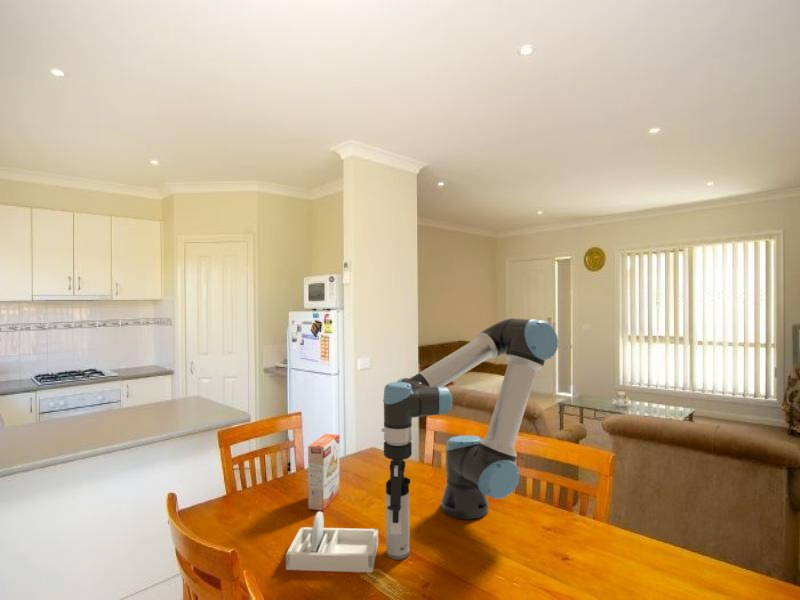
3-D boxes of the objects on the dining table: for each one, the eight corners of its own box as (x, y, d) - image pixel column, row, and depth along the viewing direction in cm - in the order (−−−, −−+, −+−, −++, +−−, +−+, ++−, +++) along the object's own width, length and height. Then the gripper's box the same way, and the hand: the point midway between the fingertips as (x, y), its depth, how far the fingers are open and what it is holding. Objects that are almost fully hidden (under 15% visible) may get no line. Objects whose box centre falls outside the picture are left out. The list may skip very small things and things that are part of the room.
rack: (378, 543, 122) (377, 503, 122) (372, 572, 109) (372, 527, 109) (301, 541, 123) (300, 501, 123) (286, 569, 110) (285, 525, 110)
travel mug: (408, 561, 113) (407, 484, 113) (383, 558, 114) (383, 483, 114) (412, 548, 119) (412, 475, 119) (389, 545, 121) (388, 473, 121)
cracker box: (324, 512, 140) (323, 447, 140) (307, 510, 141) (306, 445, 141) (340, 493, 154) (340, 433, 154) (324, 491, 155) (324, 432, 155)
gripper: (387, 427, 129) (387, 498, 129) (378, 457, 105) (378, 545, 105) (413, 427, 129) (412, 499, 129) (409, 458, 104) (409, 546, 104)
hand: (397, 520), depth 117 cm, fingers open, 13 cm apart
